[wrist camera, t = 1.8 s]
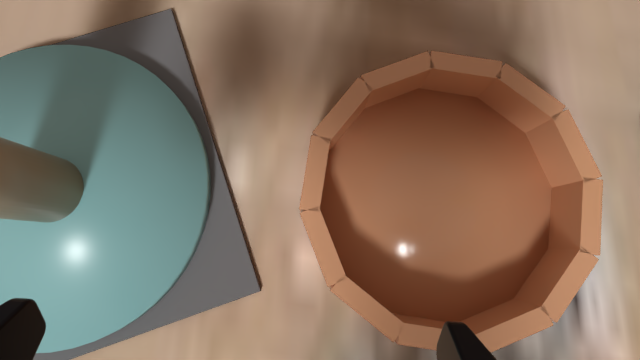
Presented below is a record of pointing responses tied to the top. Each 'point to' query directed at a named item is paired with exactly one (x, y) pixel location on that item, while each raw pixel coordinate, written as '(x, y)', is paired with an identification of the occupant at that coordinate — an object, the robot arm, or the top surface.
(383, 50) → the top surface
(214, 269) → the mat
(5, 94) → the teal disc with post
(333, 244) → the bowl
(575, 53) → the top surface
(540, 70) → the top surface
